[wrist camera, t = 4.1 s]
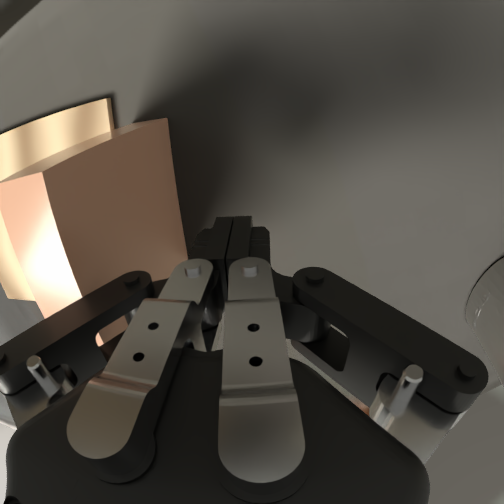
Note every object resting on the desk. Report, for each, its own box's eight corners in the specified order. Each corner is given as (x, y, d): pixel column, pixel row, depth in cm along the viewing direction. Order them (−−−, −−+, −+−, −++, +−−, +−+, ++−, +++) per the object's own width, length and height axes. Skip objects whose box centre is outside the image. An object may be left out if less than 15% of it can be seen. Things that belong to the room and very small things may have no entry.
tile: (167, 117, 17) (42, 171, 7) (188, 259, 22) (136, 402, 12) (132, 123, 17) (-7, 185, 7) (157, 260, 22) (91, 394, 12)
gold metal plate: (110, 97, 16) (106, 98, 16) (153, 302, 24) (151, 307, 24) (-37, 153, 17) (-41, 155, 17) (11, 294, 25) (8, 298, 25)
